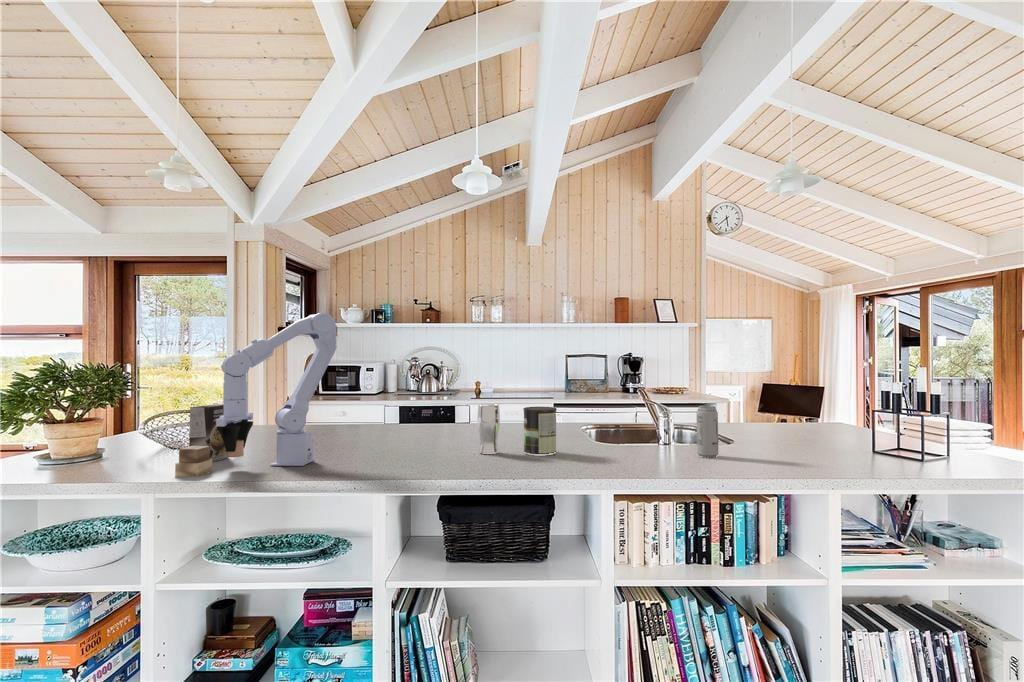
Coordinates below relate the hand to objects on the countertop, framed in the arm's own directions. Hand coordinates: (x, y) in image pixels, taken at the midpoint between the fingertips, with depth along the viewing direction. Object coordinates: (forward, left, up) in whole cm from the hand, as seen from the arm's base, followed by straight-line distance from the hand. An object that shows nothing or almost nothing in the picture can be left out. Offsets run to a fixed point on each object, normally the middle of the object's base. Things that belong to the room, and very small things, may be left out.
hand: (235, 450), depth 147 cm
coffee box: (+15, -13, -6) cm, 21 cm away
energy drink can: (-132, -23, -6) cm, 134 cm away
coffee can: (-82, -27, -6) cm, 86 cm away
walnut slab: (+8, +5, -2) cm, 10 cm away
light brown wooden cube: (0, 0, -2) cm, 2 cm away
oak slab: (+8, +5, -6) cm, 11 cm away
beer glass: (-66, -27, -6) cm, 71 cm away
